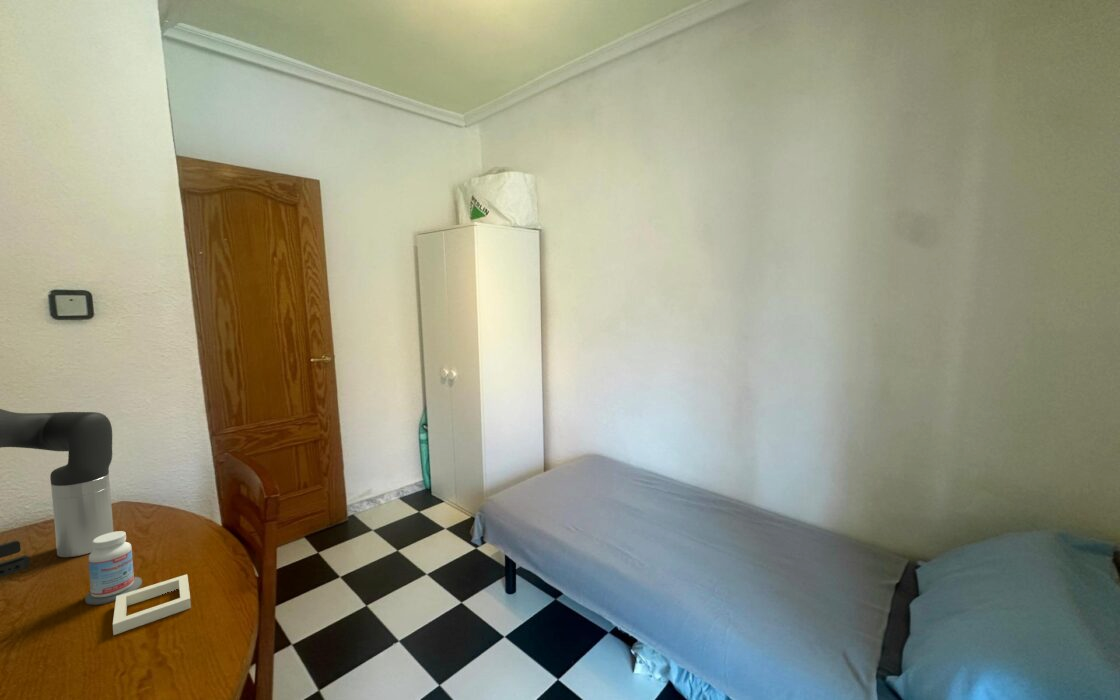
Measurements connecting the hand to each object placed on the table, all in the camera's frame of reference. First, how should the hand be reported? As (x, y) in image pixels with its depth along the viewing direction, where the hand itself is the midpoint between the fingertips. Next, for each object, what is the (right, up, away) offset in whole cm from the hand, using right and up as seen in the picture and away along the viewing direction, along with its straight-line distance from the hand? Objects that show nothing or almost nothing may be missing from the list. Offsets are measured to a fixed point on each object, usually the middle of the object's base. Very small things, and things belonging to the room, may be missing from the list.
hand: (24, 552), depth 77 cm
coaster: (+6, -13, +10) cm, 17 cm away
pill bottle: (+6, -12, +10) cm, 17 cm away
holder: (+18, -13, +6) cm, 23 cm away
